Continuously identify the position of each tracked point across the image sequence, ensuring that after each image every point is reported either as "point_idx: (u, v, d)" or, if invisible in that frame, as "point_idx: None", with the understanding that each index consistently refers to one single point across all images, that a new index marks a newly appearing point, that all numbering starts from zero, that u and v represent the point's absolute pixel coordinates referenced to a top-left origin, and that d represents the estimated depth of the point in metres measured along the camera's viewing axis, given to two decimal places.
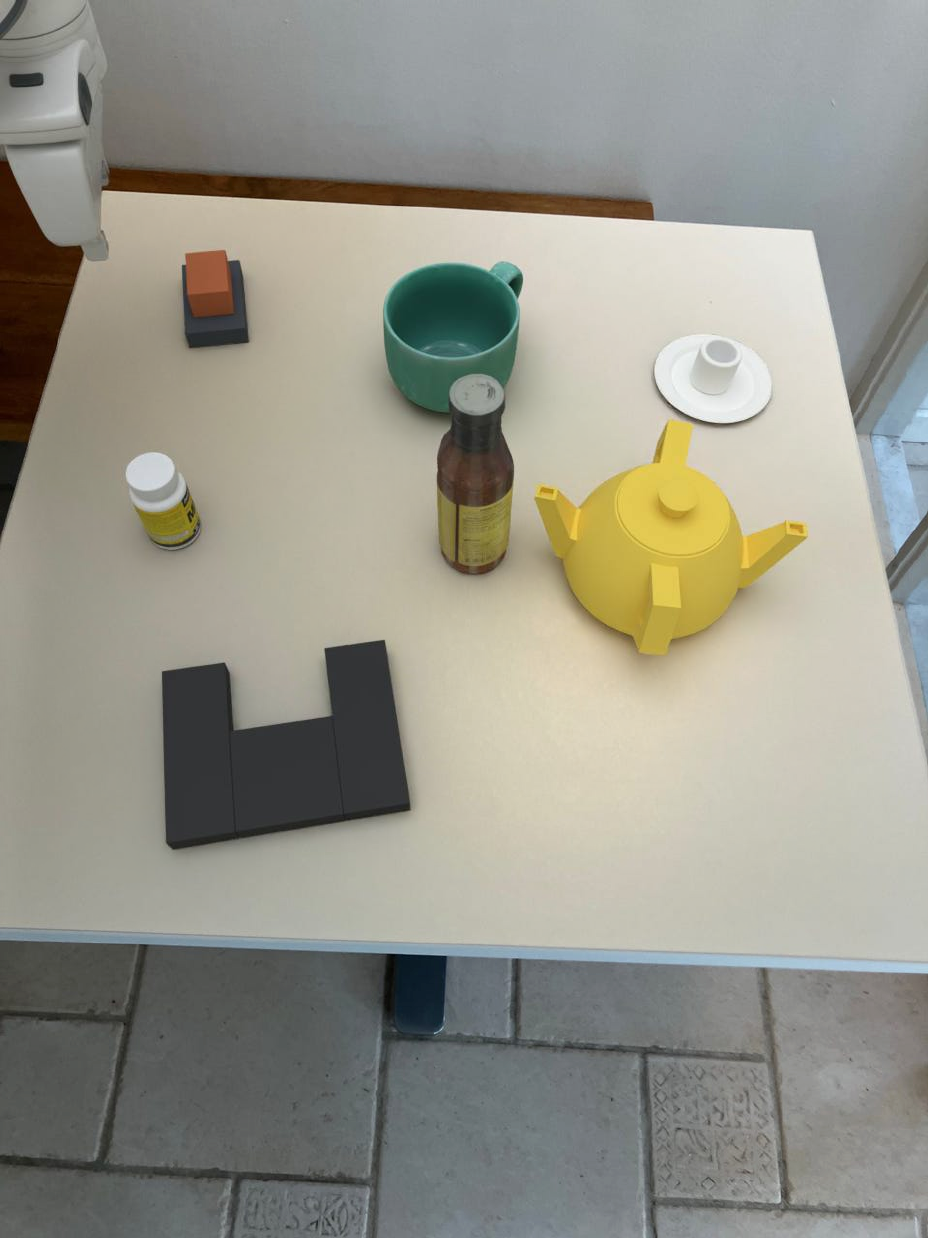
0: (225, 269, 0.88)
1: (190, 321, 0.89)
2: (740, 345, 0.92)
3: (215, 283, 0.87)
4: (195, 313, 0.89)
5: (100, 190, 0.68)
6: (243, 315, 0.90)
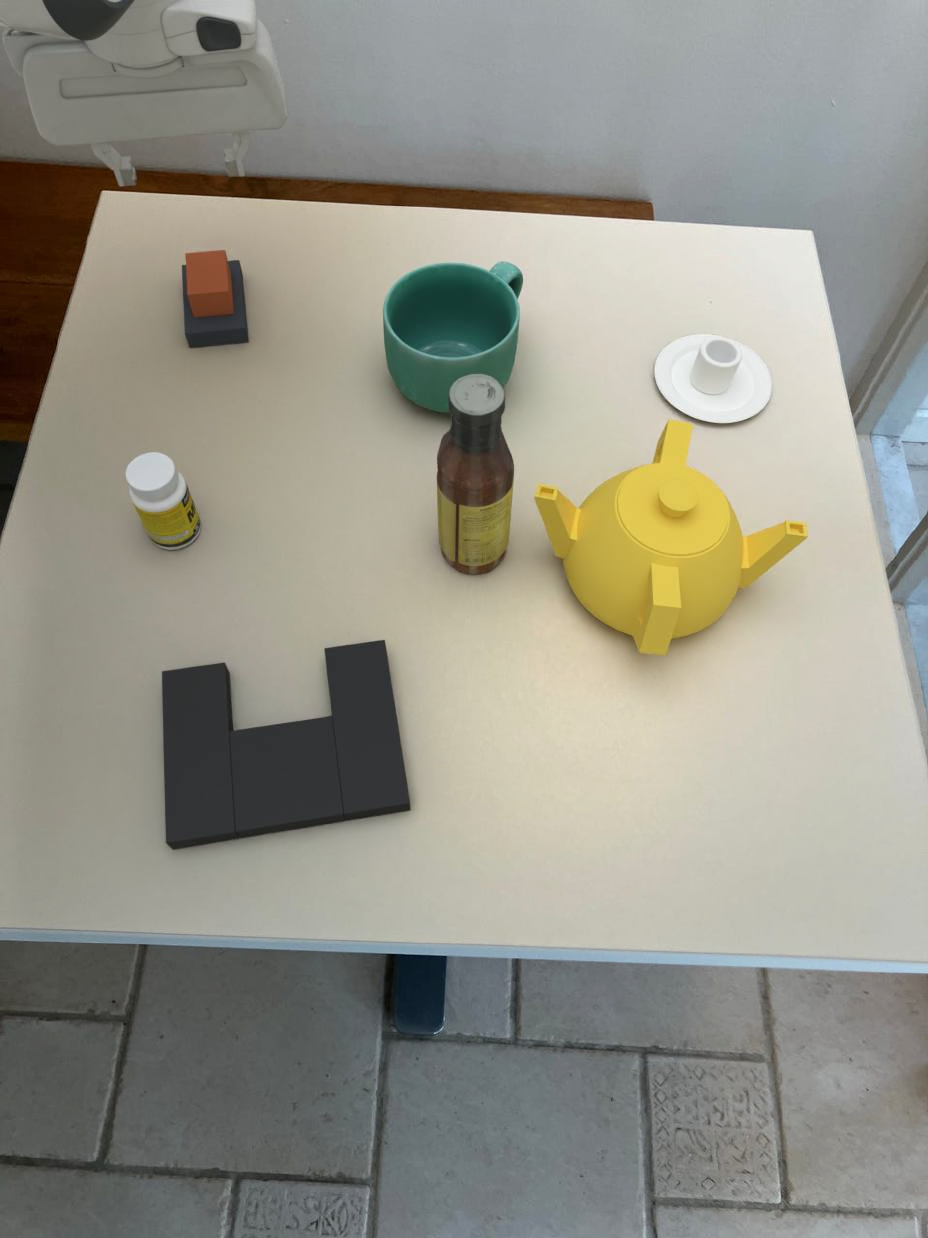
0: (225, 269, 0.88)
1: (190, 321, 0.89)
2: (740, 345, 0.92)
3: (215, 283, 0.87)
4: (195, 313, 0.89)
5: None
6: (243, 315, 0.90)
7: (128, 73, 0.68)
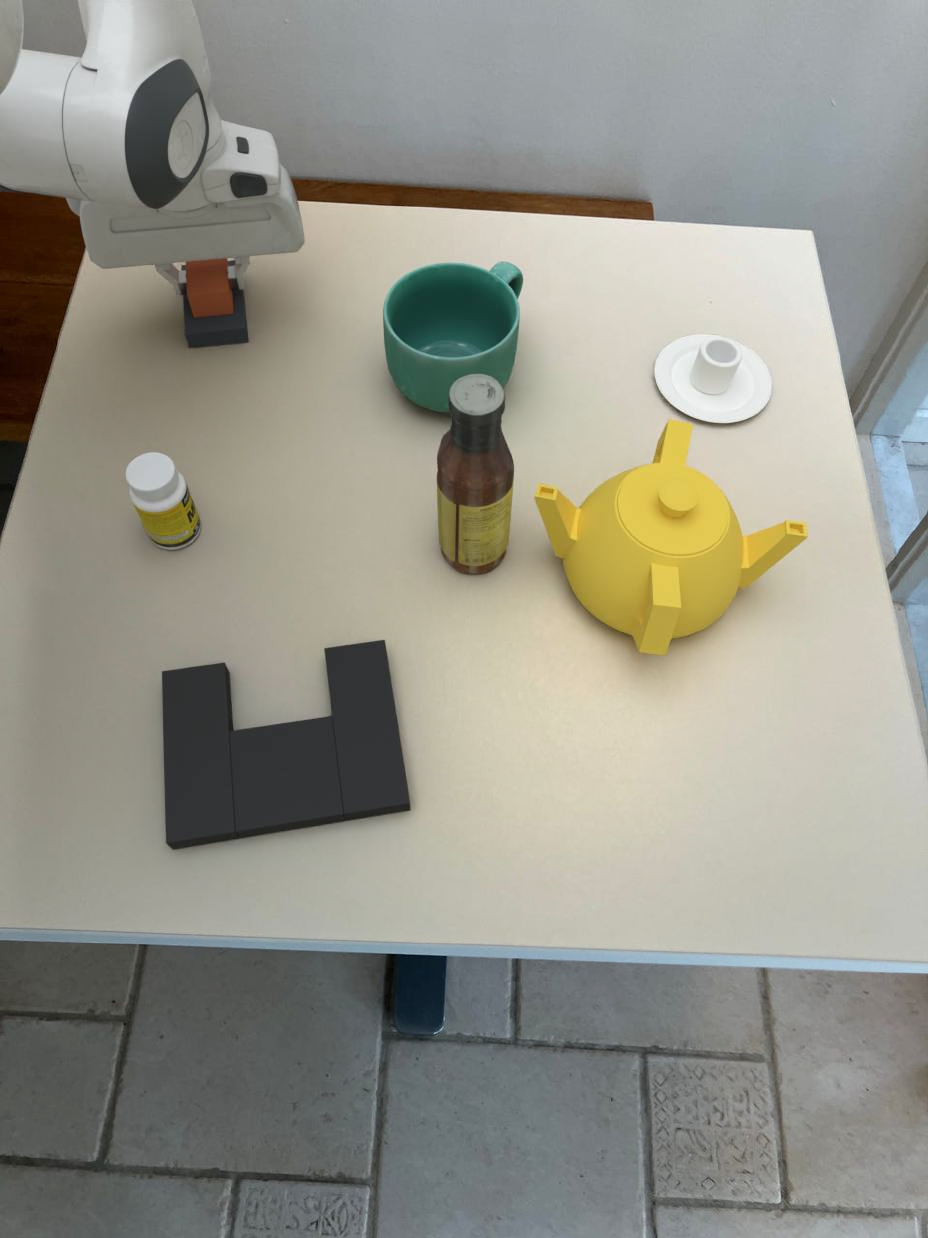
0: (225, 269, 0.88)
1: (190, 321, 0.89)
2: (740, 345, 0.92)
3: (214, 283, 0.87)
4: (195, 313, 0.89)
5: None
6: (243, 315, 0.90)
7: (170, 214, 0.79)
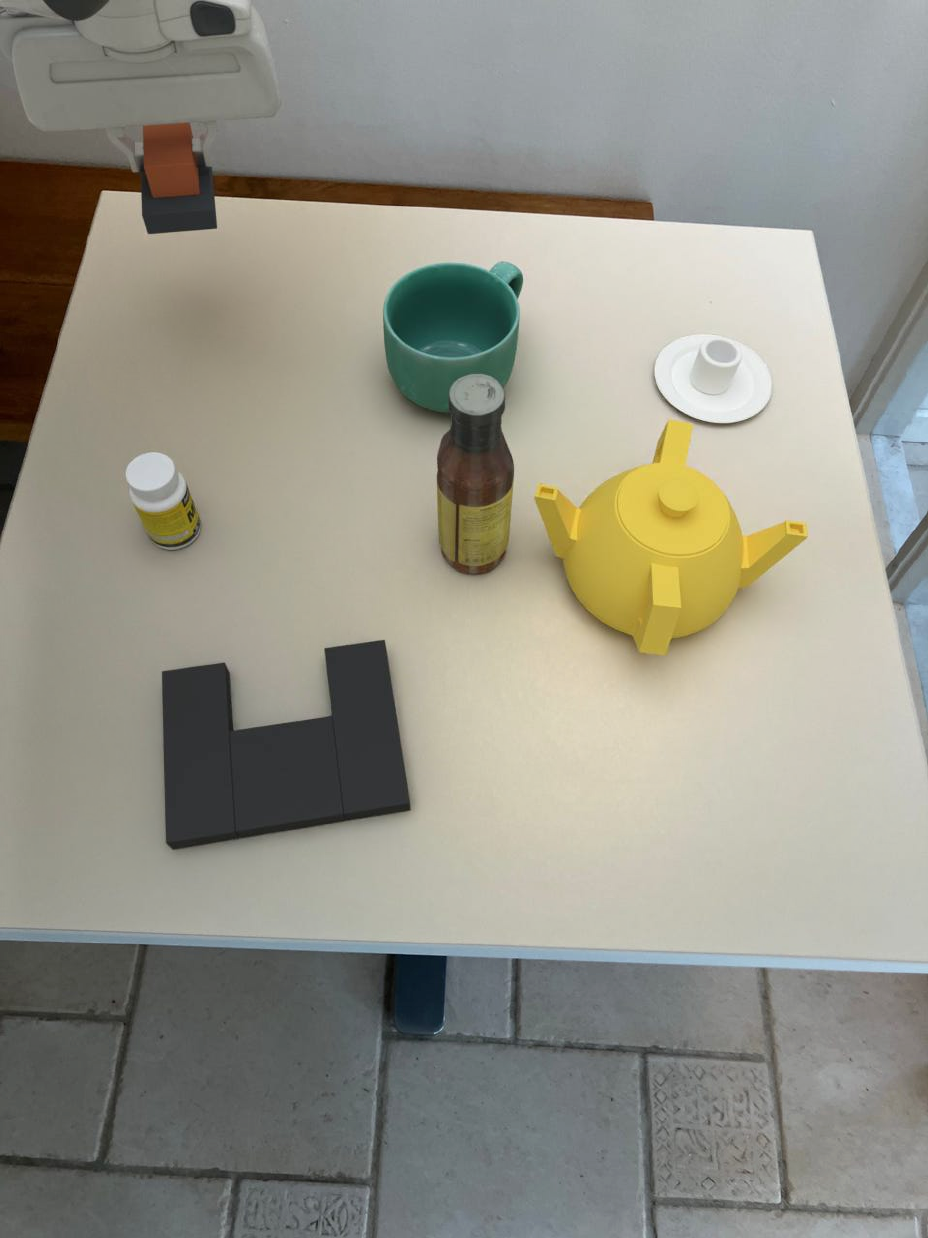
0: (189, 140, 0.76)
1: (149, 202, 0.77)
2: (740, 345, 0.92)
3: (176, 155, 0.75)
4: (154, 192, 0.76)
5: None
6: (210, 196, 0.77)
7: (120, 58, 0.67)
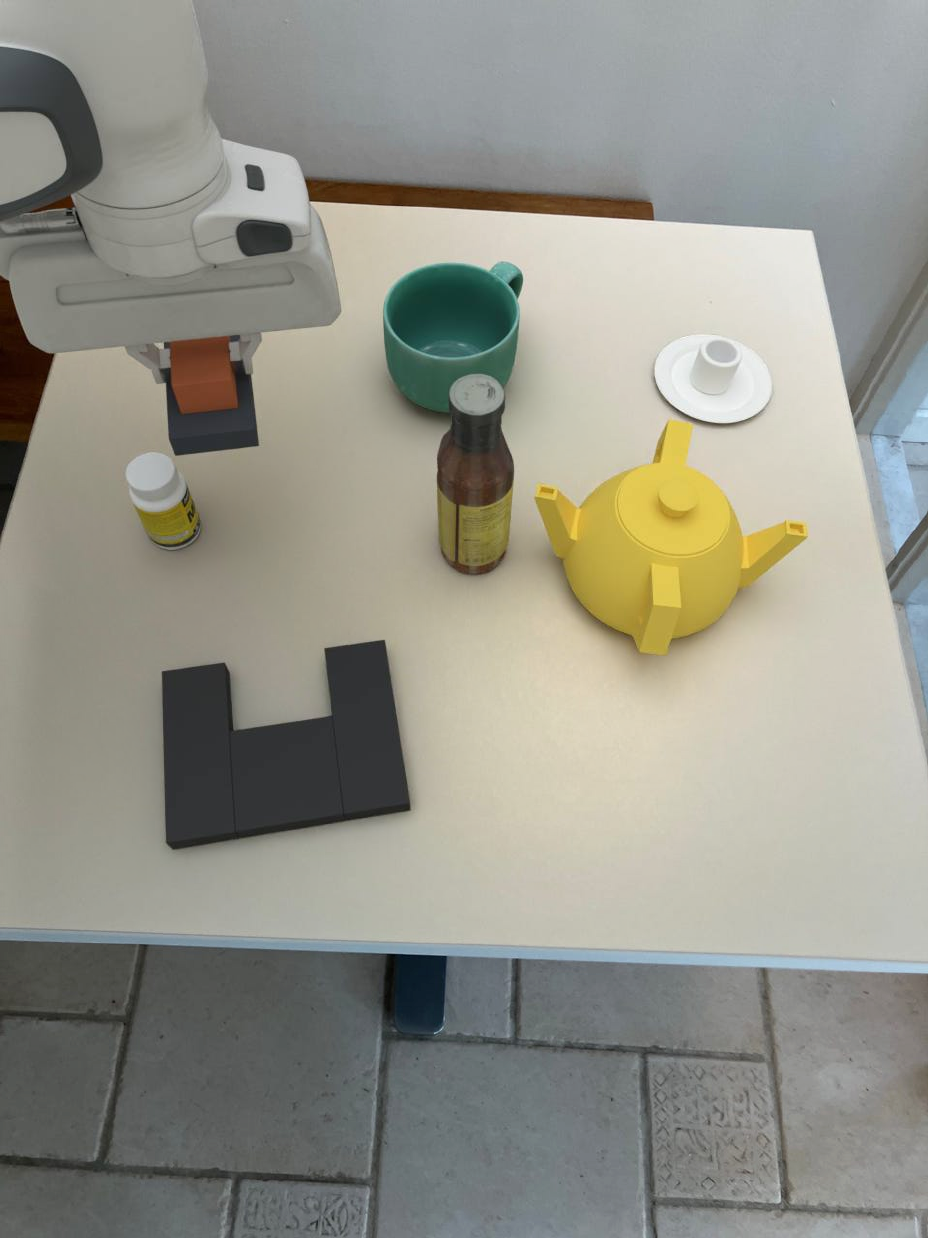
0: (225, 346, 0.62)
1: (176, 420, 0.63)
2: (740, 345, 0.92)
3: (211, 368, 0.61)
4: (183, 409, 0.63)
5: None
6: (251, 410, 0.64)
7: (145, 280, 0.53)
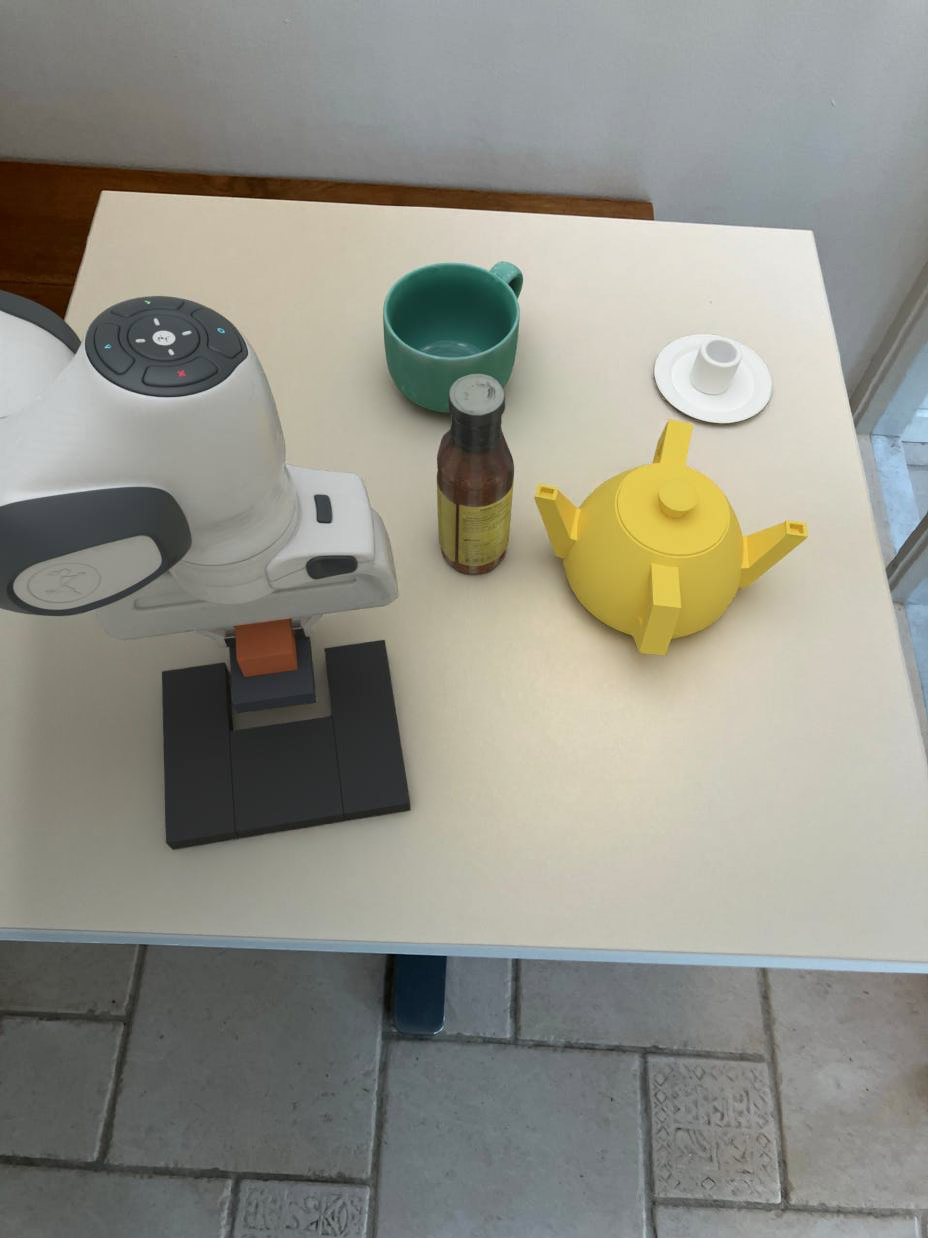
0: None
1: (239, 684, 0.66)
2: (740, 345, 0.92)
3: (274, 640, 0.64)
4: (246, 674, 0.66)
5: None
6: (310, 671, 0.67)
7: None
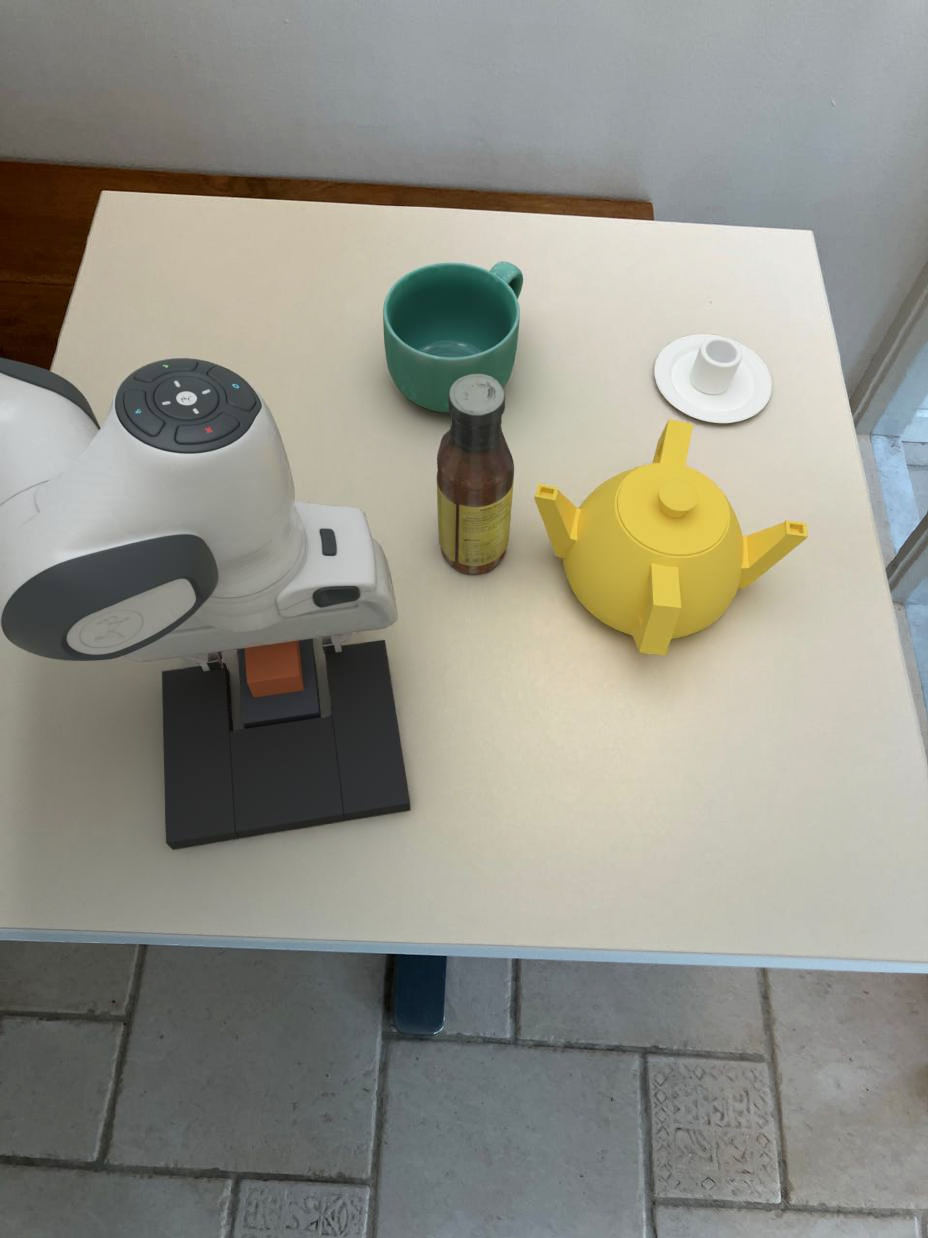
0: None
1: (249, 704, 0.70)
2: (740, 345, 0.92)
3: (281, 663, 0.68)
4: (255, 695, 0.70)
5: None
6: (315, 692, 0.71)
7: None
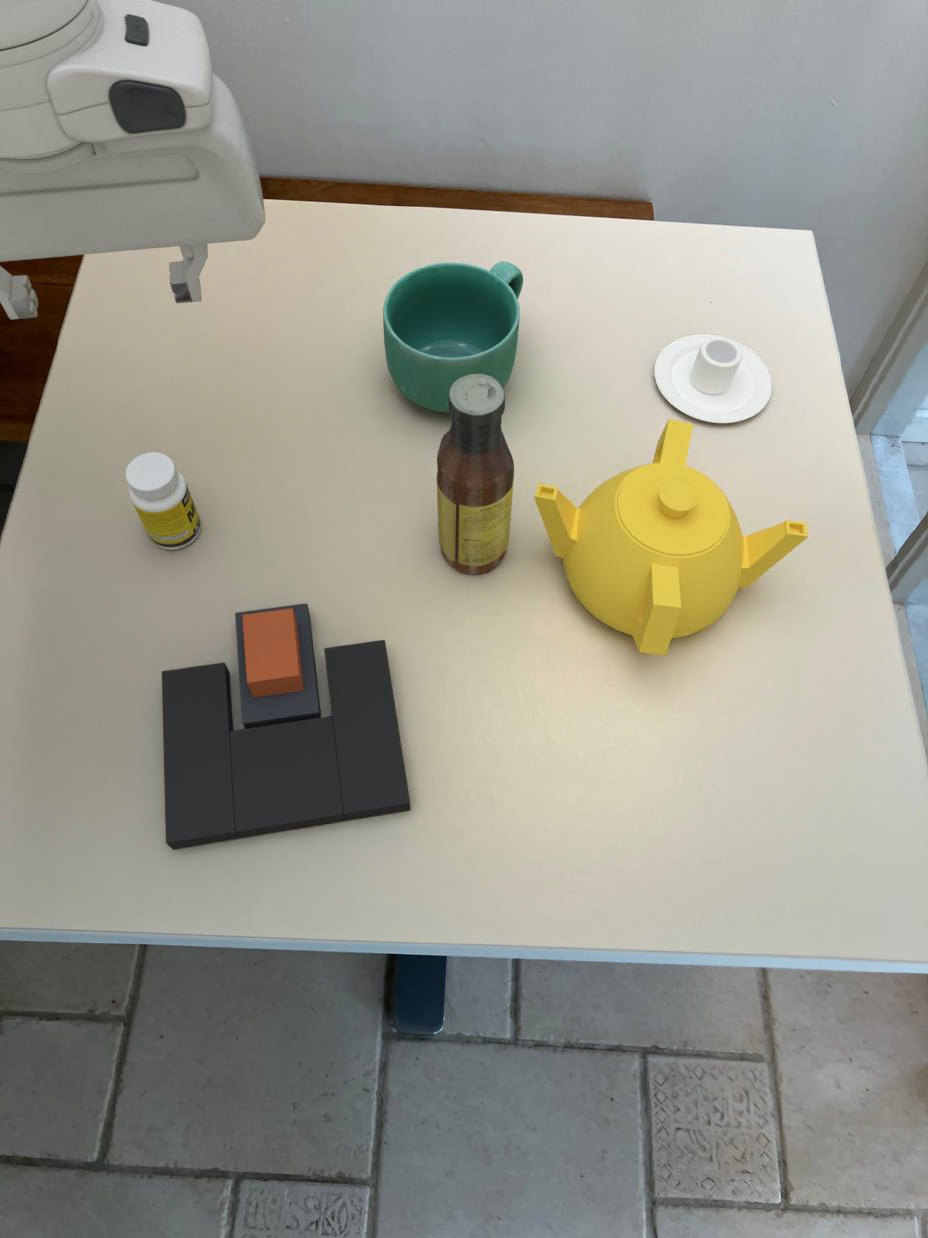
0: (294, 640, 0.69)
1: (249, 704, 0.70)
2: (740, 345, 0.92)
3: (281, 663, 0.68)
4: (255, 695, 0.70)
5: None
6: (315, 692, 0.71)
7: (2, 167, 0.42)
